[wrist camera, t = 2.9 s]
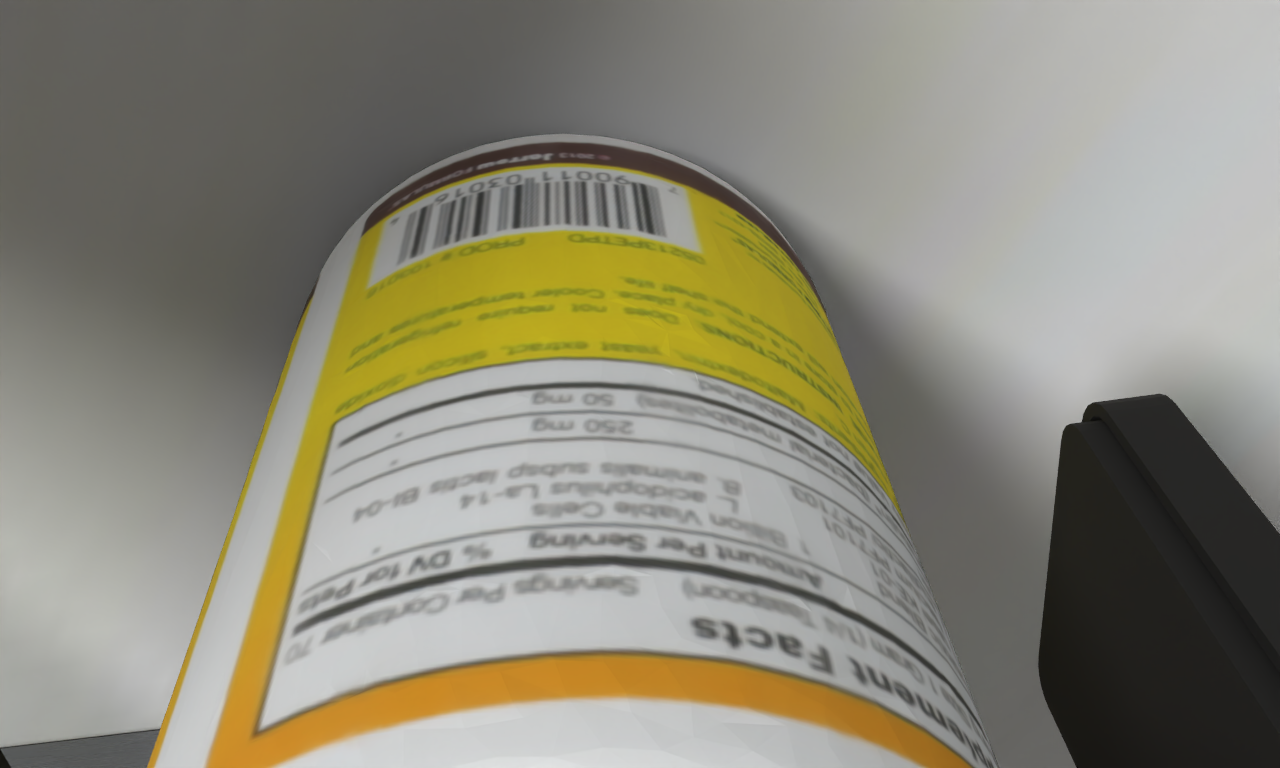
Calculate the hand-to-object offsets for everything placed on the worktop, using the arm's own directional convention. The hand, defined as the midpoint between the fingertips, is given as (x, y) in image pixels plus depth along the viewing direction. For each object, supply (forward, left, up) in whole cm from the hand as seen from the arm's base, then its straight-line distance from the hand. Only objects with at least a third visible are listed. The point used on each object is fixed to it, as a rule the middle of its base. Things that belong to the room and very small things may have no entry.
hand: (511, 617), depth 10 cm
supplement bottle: (-1, 0, -4) cm, 4 cm away
